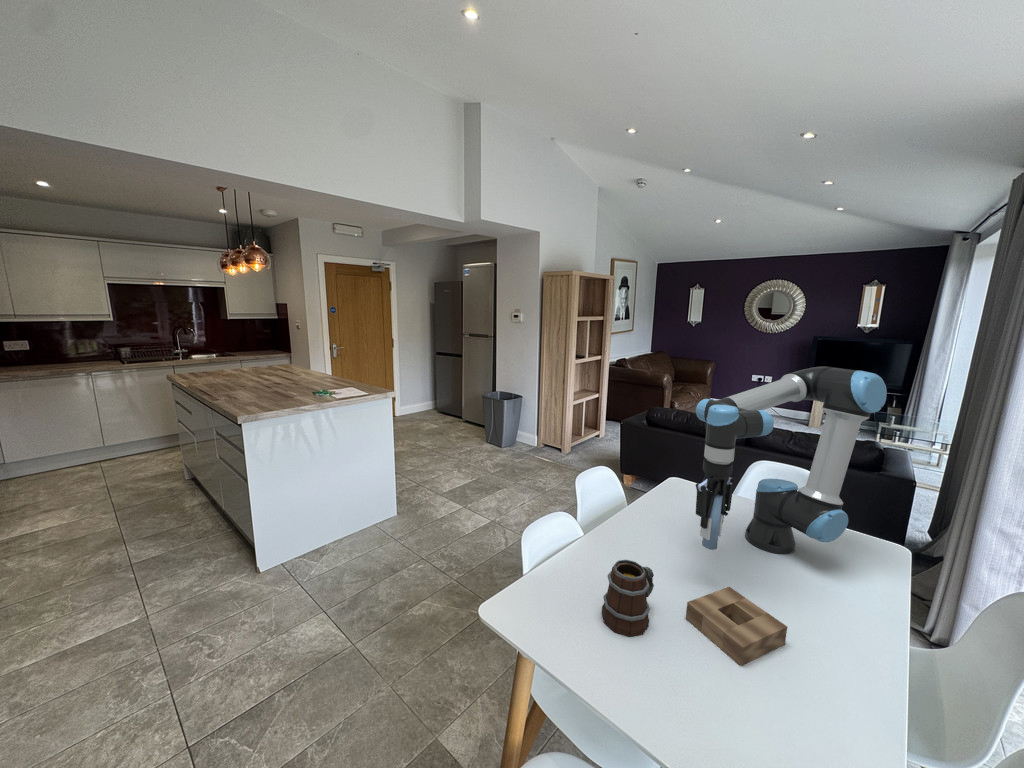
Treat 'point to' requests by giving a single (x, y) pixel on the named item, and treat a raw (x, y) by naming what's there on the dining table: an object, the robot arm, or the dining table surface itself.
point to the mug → (628, 598)
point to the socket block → (736, 625)
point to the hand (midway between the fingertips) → (710, 535)
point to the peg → (714, 524)
